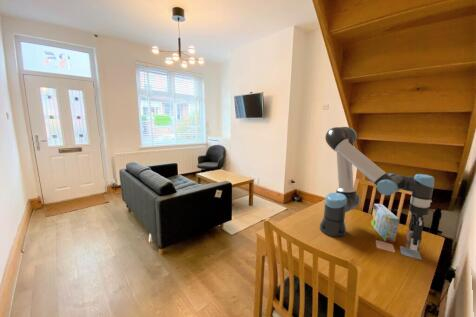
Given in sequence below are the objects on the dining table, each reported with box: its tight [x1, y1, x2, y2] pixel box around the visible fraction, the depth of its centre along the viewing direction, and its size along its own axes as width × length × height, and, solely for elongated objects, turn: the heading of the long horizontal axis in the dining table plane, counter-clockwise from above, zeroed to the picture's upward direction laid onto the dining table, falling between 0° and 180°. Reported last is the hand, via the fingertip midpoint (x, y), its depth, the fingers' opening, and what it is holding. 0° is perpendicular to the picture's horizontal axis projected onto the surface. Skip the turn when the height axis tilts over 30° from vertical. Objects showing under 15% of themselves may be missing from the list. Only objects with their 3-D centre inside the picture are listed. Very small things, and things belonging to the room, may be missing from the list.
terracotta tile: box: [375, 239, 396, 253], centre depth 114 cm, size 8×8×1 cm
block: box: [404, 229, 423, 252], centre depth 107 cm, size 5×5×8 cm
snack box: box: [370, 203, 400, 244], centre depth 127 cm, size 21×6×15 cm, turn 168°
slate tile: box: [399, 245, 423, 261], centre depth 109 cm, size 8×8×1 cm
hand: (411, 246), depth 108 cm, fingers closed on block, 5 cm apart
